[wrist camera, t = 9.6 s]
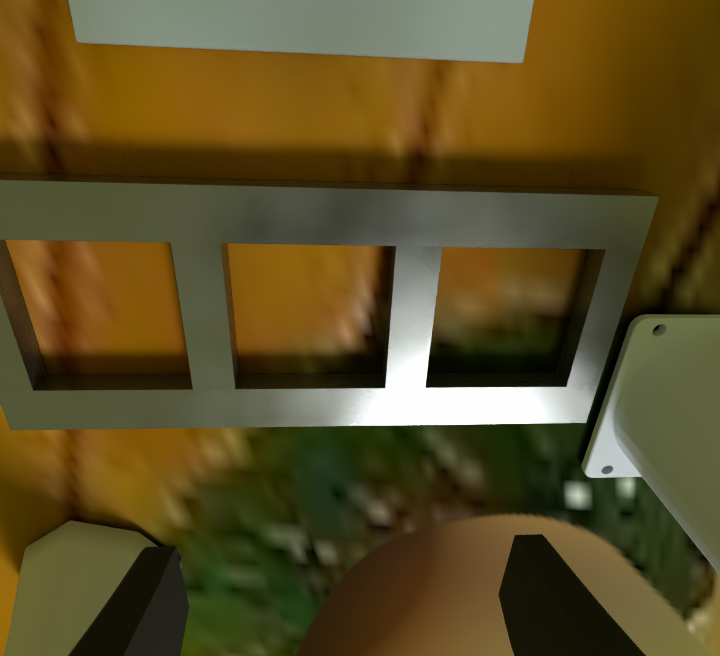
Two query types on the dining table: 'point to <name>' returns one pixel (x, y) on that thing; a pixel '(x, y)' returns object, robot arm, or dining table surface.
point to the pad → (315, 26)
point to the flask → (68, 585)
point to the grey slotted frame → (315, 227)
